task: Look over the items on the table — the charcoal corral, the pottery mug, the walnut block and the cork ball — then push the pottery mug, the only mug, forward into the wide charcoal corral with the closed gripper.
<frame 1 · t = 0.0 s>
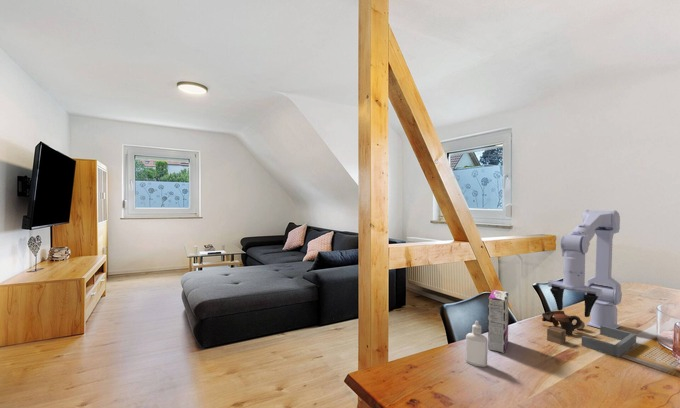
hand: (573, 313, 107), 10 cm above the table, tool pointing down, fingers open, 7 cm apart
candy bar box: (497, 346, 105), on the table
cork ball: (578, 329, 120), on the table
walnut block: (556, 341, 109), on the table
pottery mug: (561, 331, 118), on the table
corral: (605, 343, 108), on the table
eye dropper bottle: (476, 364, 92), on the table
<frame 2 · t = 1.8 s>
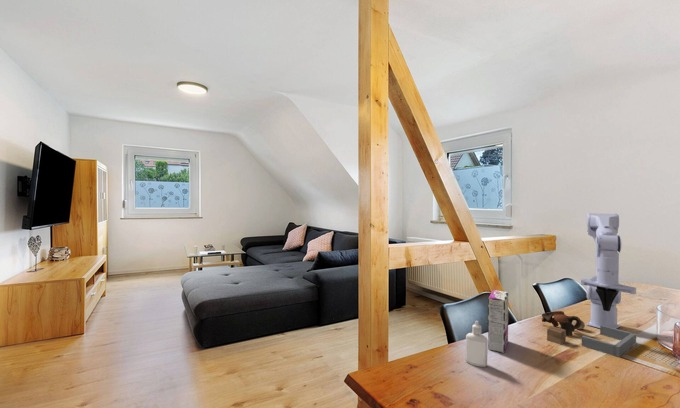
hand: (606, 310, 111), 10 cm above the table, tool pointing down, fingers closed
nothing on the table moved.
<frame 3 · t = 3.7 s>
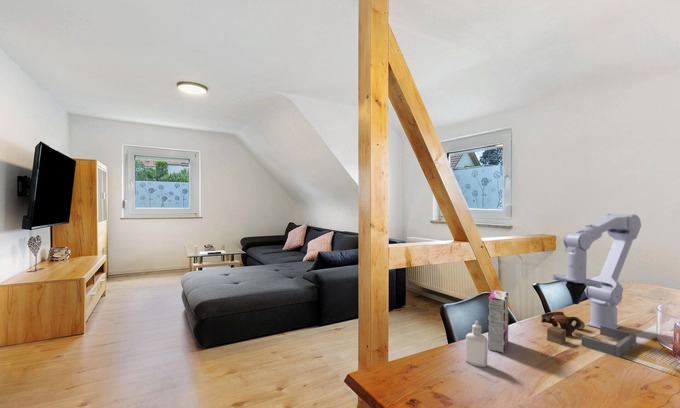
hand: (575, 303, 118), 10 cm above the table, tool pointing down, fingers closed
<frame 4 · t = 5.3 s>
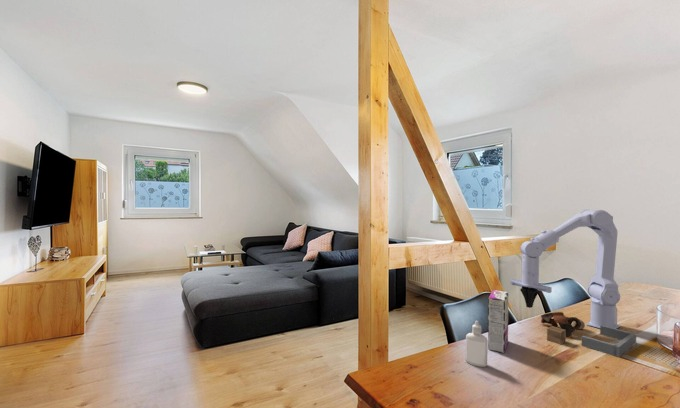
hand: (529, 307, 127), 6 cm above the table, tool pointing down, fingers closed
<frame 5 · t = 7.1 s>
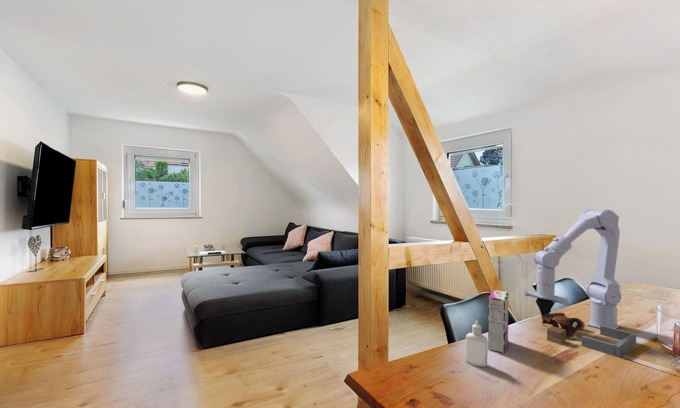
hand: (544, 319, 123), 2 cm above the table, tool pointing down, fingers closed
pottery mug: (561, 334, 116), on the table, touching gripper
everything else where it was.
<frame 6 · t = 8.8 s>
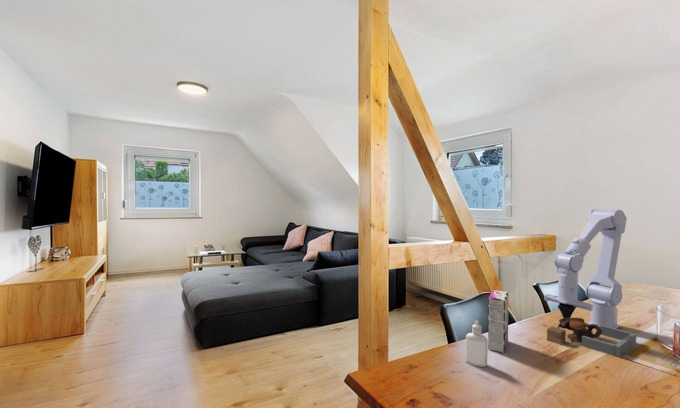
hand: (567, 325, 117), 2 cm above the table, tool pointing down, fingers closed, pressing on pottery mug
pottery mug: (579, 340, 111), on the table, touching corral, gripper
everything else where it was.
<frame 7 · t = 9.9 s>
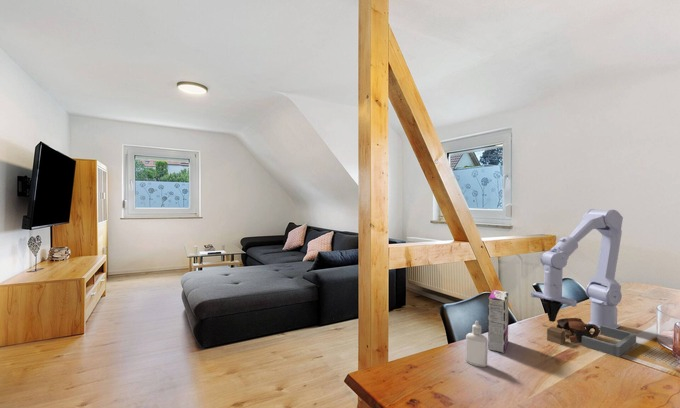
hand: (552, 320, 121), 3 cm above the table, tool pointing down, fingers closed
pottery mug: (577, 340, 111), on the table
everything else where it was.
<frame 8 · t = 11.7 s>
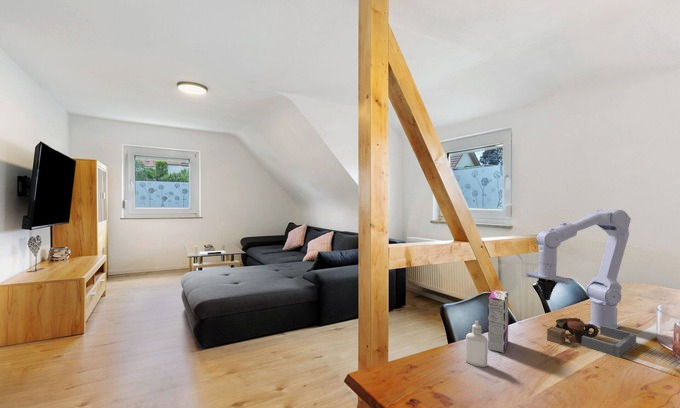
hand: (546, 299, 122), 10 cm above the table, tool pointing down, fingers closed
nothing on the table moved.
at the end: pottery mug inside the target area (5.4 cm from its centre), on the table; pottery mug tilted 0°; pottery mug moved 7.7 cm from its start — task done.
